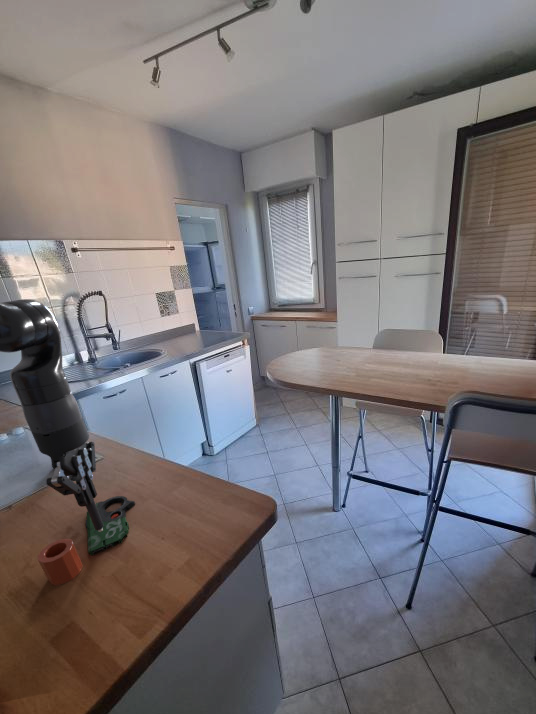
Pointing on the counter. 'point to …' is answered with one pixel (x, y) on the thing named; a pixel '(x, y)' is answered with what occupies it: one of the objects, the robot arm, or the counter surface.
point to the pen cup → (60, 561)
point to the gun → (109, 525)
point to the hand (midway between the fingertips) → (88, 500)
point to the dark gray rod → (94, 512)
